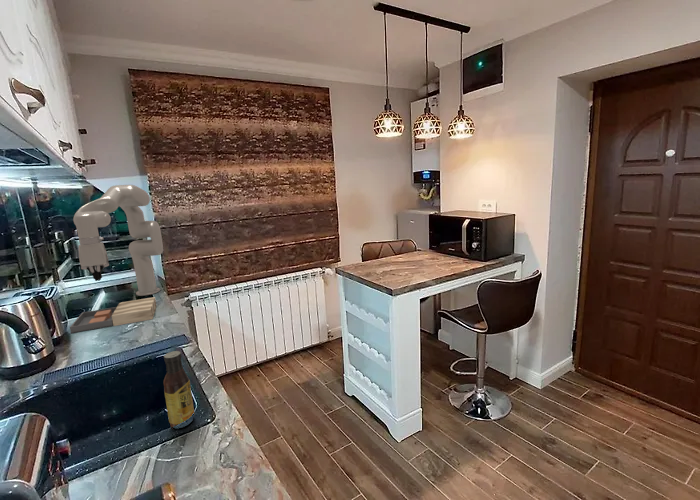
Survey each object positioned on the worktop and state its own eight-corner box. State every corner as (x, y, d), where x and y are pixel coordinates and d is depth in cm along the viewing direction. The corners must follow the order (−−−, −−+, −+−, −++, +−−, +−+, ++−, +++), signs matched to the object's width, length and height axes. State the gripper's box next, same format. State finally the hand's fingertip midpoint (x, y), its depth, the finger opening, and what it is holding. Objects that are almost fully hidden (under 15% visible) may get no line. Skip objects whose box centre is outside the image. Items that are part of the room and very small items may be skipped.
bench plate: (121, 311, 185) (119, 302, 184) (156, 306, 191) (154, 297, 190) (113, 326, 167) (111, 315, 166) (152, 319, 173) (150, 309, 172)
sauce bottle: (189, 430, 94) (177, 360, 90) (165, 431, 94) (152, 361, 90) (199, 414, 100) (189, 348, 96) (177, 415, 101) (166, 349, 97)
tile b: (106, 316, 172) (107, 321, 172) (91, 318, 169) (92, 323, 170) (103, 320, 166) (104, 325, 167) (88, 323, 164) (89, 328, 165)
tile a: (111, 309, 181) (112, 314, 181) (96, 311, 178) (97, 316, 179) (108, 313, 175) (109, 318, 176) (94, 315, 173) (95, 320, 174)
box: (83, 318, 179) (82, 312, 179) (120, 312, 185) (119, 306, 184) (71, 333, 161) (69, 327, 160) (112, 326, 167) (111, 320, 166)
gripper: (111, 237, 169) (118, 275, 173) (72, 241, 163) (81, 280, 167) (107, 240, 162) (115, 279, 166) (67, 244, 156) (76, 285, 160)
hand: (98, 280), depth 167 cm, fingers closed
